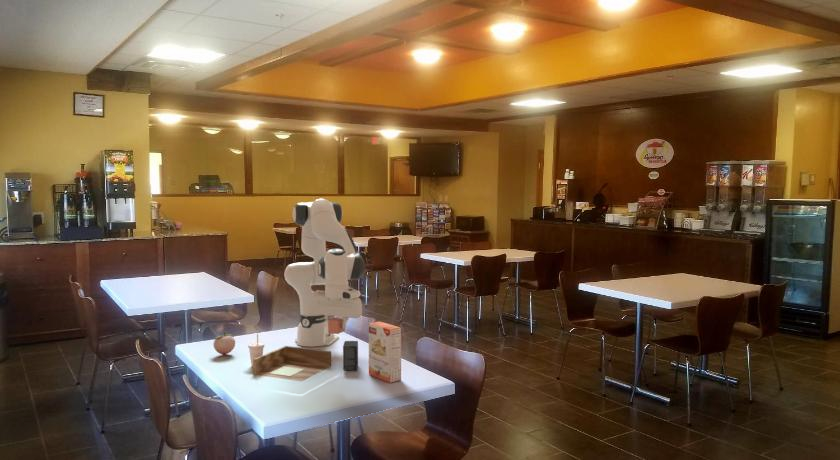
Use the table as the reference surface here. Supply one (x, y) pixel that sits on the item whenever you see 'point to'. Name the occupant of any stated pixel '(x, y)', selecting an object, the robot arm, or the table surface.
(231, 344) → the decorative fruit
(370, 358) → the cracker box
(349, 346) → the box
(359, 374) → the table surface
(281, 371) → the pad
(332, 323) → the block
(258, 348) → the smoothie
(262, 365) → the arena
